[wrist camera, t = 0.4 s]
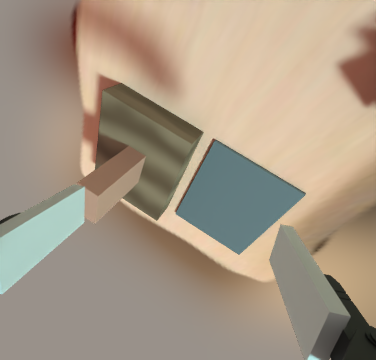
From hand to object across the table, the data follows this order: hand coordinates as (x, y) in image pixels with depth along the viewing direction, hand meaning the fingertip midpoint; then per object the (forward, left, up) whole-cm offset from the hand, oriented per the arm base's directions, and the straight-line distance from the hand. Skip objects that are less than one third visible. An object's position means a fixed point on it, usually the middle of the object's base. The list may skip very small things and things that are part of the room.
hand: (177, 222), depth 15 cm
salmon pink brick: (+13, -11, -15) cm, 23 cm away
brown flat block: (+13, -11, -19) cm, 25 cm away
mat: (+13, +5, -19) cm, 23 cm away
